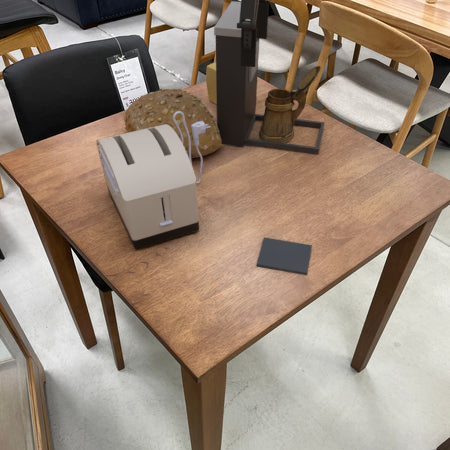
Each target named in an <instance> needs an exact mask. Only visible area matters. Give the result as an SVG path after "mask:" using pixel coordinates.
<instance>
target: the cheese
mask: <svg viewBox="0 0 450 450" xmlns="http://www.w3.org/2000/svg"><path fill="white" fill-rule="evenodd" d="M205 81H206V90H207V91H206V92H207V95H208V101H209V102H211V103H213V104H215V105H217V94H216V61H215V62H213V63H212V62H211V63H210V64H208V65H207V66H206V72H205Z"/></svg>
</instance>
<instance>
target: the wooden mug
mask: <svg viewBox="0 0 450 450" xmlns="http://www.w3.org/2000/svg"><path fill="white" fill-rule="evenodd" d="M321 68H322V67H321V65H317V66H314V67H312V68H310V69H309V70H308V72H307V73H306V74H305V75H304V77H302V79H301V81H300V83H299V86H298V87H297V89H291V90H288V89H286V88H272V89H270V90H269V91H267V97H266V98H265V101H264V111H263V115H264V116H263V121H261V125H260V127H259V132H258V137H259V138H260V140H264V141H272V142H279V143H288V142H290V141H291V140H292V139H293V137H294V135H295V130H294V126H295V125H294V123H295V121H296V119H299V116H300V115H301V114H302V112H303V111H304V109H305V107H306V104H307V96H306V94H305V93H306V92H305V91H306V90H308V89H309V88H310V87H311V85H312V84H313V83H314V82H315V81H316V79H317V77H318V75H319V73H320V72H321ZM294 101H296V102H297V103H298V106H297V108H295V109H293V108H294V106H295V102H294Z"/></svg>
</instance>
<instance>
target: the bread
mask: <svg viewBox="0 0 450 450" xmlns="http://www.w3.org/2000/svg"><path fill="white" fill-rule="evenodd" d="M178 111H180V112H182V113H183V114H184V116H185V123H186V126H187V129H188V131H189V135H190V140H191V159H196V158H200V156H199V154H198V152H197V149H196V145H194V139H193V134H192V127H191V125H192V124H194V123H196V122H199V121H203V122H204V124H208V126H211V127H210V128H206V133H204V134H200V135H199V145H198V149H199V152H200V154H201V156H202V157H204V156H207V155H209V154H212V153H214V152H216V151H217V150H219V149H220V148H221V147H222V145H223V144H222V142H221V141H222V139H221V138H220V134H219V130H218V127H217V120H214V115H213V114H212V113H211V112H210V110H209V109H208V108H207V106H206V105H205V103H203V102H202V99H201V98H200V97H198V95H195V94H193V93H192V94H191V92H189V91H187V90H182V88H172V89H170V88H165V89H162V88H159V89H158V90H156V91H151V92H149V93H146V94H143V95H140V97H138V98H137V99H136V100H134V101H132V102H131V104H130V105H129V106H128V108H127V109H125V114H124V115H123V121H124V125H125V127H124V130H126V133H129V132H134V131H138V130H142V129H147V128H151V127H155V126H160V125H164V124H167V125H169V126H170V127H171V128H172V129H173V130H174V131H175V132H176V134H177V135H178V137H179V138H180V140H181V135H180V133H179V131H178V128H177V126H176V125H175V122H174V120H173V115H174V114H175V113H176V112H178ZM175 120H176V122H177V124H178V126H179V128H180V130H181V132H182V135H183V140H184V143H183V146H184V148H185V150H186V152H187V155H188V157H189V139H188V135H187V132H186V129H185V126H184V123H183V116H182V115H181V114H177V115H176V116H175ZM205 127H207V126H205ZM181 142H182V140H181Z"/></svg>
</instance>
